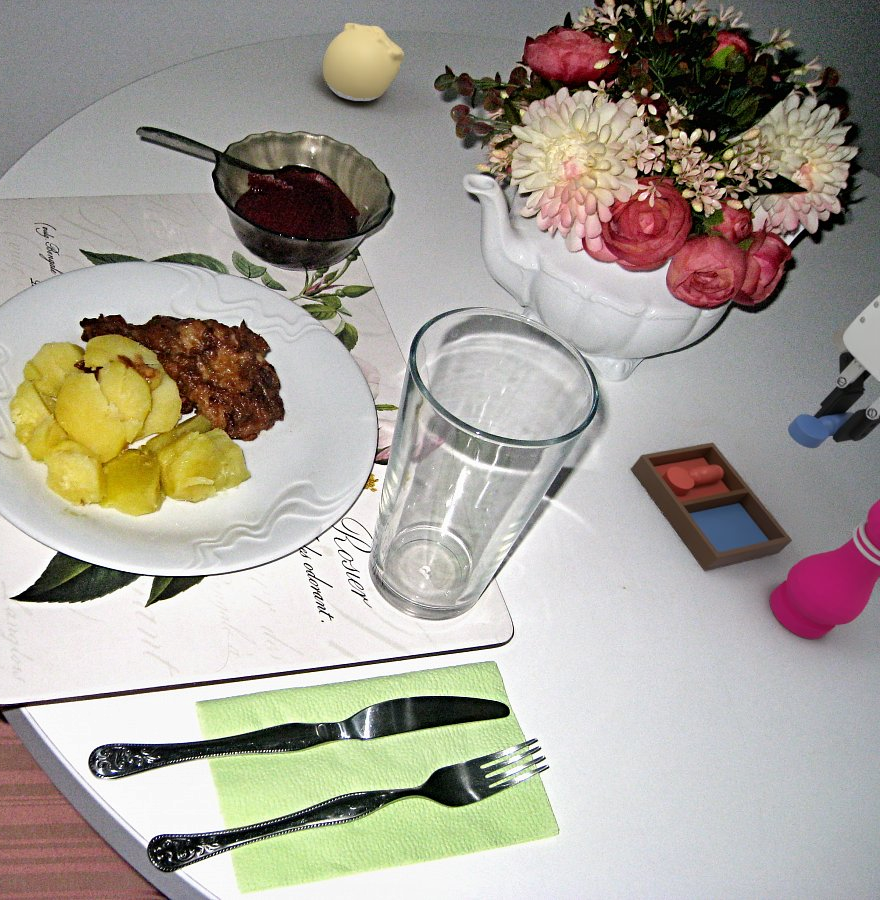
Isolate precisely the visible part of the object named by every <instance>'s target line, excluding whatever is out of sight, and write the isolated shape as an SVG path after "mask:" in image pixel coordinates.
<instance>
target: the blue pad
mask: <svg viewBox="0 0 880 900" xmlns="http://www.w3.org/2000/svg"><path fill="white" fill-rule="evenodd" d="M689 514H690V515H691V517H692V518H693V519H694V521H695V522H696V523H697V525H698V526H699V527H700V529H701V530H702V531H703V533H704V534H705V535H706V537H707V538H708V539H709V541H710V542H711V543H712V545H713V546H714V547H715V549H716V550H717V551H718V553H719V552H723V551H727V550H732V549H736V548H740V547H744V546H749V545H753V544H757V543H761V542H766V541H769V540H768V539H767V537H766V536H765V535H764V534H763V532H762V531H761V530H760V528H759V527H758V526H757V525H756V523H755V522H754V521H753V520H752V518H751V517H750V516H749V515H748V513H747V512H746V511H745V510H744V508H743V507H742V506H741V504H740V503H736V504H731V505H727V506H722V507H717V508H713V509H708V510H703V511H698V512H694V513H689Z"/></svg>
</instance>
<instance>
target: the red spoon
mask: <svg viewBox="0 0 880 900" xmlns="http://www.w3.org/2000/svg"><path fill="white" fill-rule="evenodd" d="M723 474H724V472H723V469H722V468H721V467H720V466H718V465H707V466H702V467H697V468H692V469H689V470H687V471H686V470H684V469H682V468H679V467H671V468H669V469H668V470H667V471H666V473H665V474H664V475H663V476H662V478H663V479H664V480H665V482H666V483H667V484H668V486H669V487H670V488H671V490H672V491H673V492H674V494H675V495H676V496H685V495H686V494H687V493H688V492H689V491H690V490H691V489H692V487H693V486H697V485H702V484H707V483H712V482H717V481H719V480H721V479H722V477H723Z"/></svg>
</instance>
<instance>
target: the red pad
mask: <svg viewBox="0 0 880 900" xmlns="http://www.w3.org/2000/svg"><path fill="white" fill-rule="evenodd" d="M707 465H709V464H708V463H707V462H706V460H705V459H704V458H698V459H693V460H687V461H682V462H676V463H671V464H666V465H660V466H655V468H656V470H657V471H658V472H659V474H660V475H661V476H663V475H664V474H665V473H666V471H667V470H668V469H669V468H671V467H679V468H682V469H684V470H686V471H687V470H689V469H692V468H697V467H702V466H707ZM747 493H748V491H747V489H746V488H745V489H740V490H735V491H729V489H728V488H727V487H726V486H725V484H724V483H723V482H722V481H721V480H719V481H717V482H712V483H707V484H702V485H697V486H693V487H692V489H691V490H690V491H689V492H688V493H687V494H686V495H685V496H677V498H678V499H679V501H680V502H681V503H682V505H683V506H684V507H685V509H686V510H687V511H688V513H693V512H698V511H703V510H708V509H712V508H717V507H722V506H726V505H731V504H736V503H739V502H740V501H741V500H742V499H743V498H744V497H745V496H746V495H747Z"/></svg>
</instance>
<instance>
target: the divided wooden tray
mask: <svg viewBox="0 0 880 900" xmlns="http://www.w3.org/2000/svg"><path fill="white" fill-rule="evenodd" d="M698 458H704V459H705V460H706V462H707V463H708V464H709V465H718V466H720V467H721V468H722V469H723V472H724V474H723V477H722V479H721V481H722V482H723V483H724V484H725V486H726V487H727V488H728V489H729V491H735V490H740V489H745V488H746V489H747V491H748V493H747V495H746V496H745V497H744V498H743V499H742V500H741V501H740V502H739V503H740V504H741V506H742V507H743V508H744V510H745V511H746V512H747V513H748V515H749V516H750V517H751V518H752V520H753V521H754V522H755V523H756V525H757V526H758V527H759V528H760V530H761V531H762V532H763V534H764V535H765V536H766V537H767V539H768V540H769V541H766V542H761V543H757V544H753V545H749V546H744V547H740V548H736V549H732V550H727V551H723V552H719V553H718V551H717V550H716V549H715V547H714V546H713V545H712V543H711V542H710V541H709V539H708V538H707V537H706V535H705V534H704V533H703V531H702V530H701V529H700V527H699V526H698V525H697V523H696V522H695V521H694V519H693V518H692V517H691V515H690V514H689V513H688V511H687V510H686V509H685V507H684V506H683V505H682V503H681V502H680V501H679V499H678V498H677V496H676V495H675V494H674V492H673V491H672V490H671V488H670V487H669V486H668V484H667V483H666V482H665V480H664V479H663V478H662V476H661V475H660V474H659V472H658V471H657V470H656V468H655V466H660V465H666V464H671V463H676V462H682V461H687V460H693V459H698ZM630 470H631V471H632V473H633V474H634V475H635V477H636V478H637V480H638V481H639V483H640V484H641V485H642V486H643V488H644V489H645V490H646V492H647V493H648V495H649V496H650V498H651V499H652V500H653V502H654V503H655V505H656V506H657V507H658V509H659V510H660V511H661V512H662V515H663V516H664V517H665V518H666V520H667V521H668V522H669V524H670V525H671V527H672V528H673V529H674V531H675V532H676V533H677V535H678V536H679V537H680V539H681V540H682V542H683V543H684V545H685V546H686V547H687V549H688V550H689V551H690V553H691V554H692V556H693V557H694V559H696V561H697V563H698V564H699V566H700V567H701V568H702V570H703V571H704V572H706V571H711V570H715V569H719V568H723V567H727V566H731V565H736V564H739V563H744V562H748V561H751V560H756V559H759V558H763V557H768V556H771V555H776V554H779V553H781V552H782V551H783V550H784V549H785V548H786V547H787V546H788V545H789V544H790V543H791V542H792V541H793V539H792V537H791V536H790V535H789V534H788V533H787V531H786V530H785V529H784V528H783V527H782V525H781V524H780V523H779V521H778V520H777V519H776V518H775V517H774V515H773V514H772V513H771V512H770V511H769V510H768V508H767V507H766V506H765V504H764V503H763V502H762V501H761V500H760V498H759V497H758V496H757V495H756V494H755V492H754V491H753V490H752V489H751V487H750V486H749V484H748V483H747V482H746V481H745V480H744V479H743V477H742V476H741V475H740V474H739V472H738V471H737V470H736V469H735V467H734V466H733V465H732V464H731V463H730V461H729V460H728V459H727V457H726V456H725V455H724V454H723V453H722V452H721V450H720V449H719V448H718V446H717V445H716V444H715V443H714V442H707V443H702V444H697V445H691V446H685V447H680V448H674V449H668V450H662V451H656V452H651V453H646V454H640V456H639V457H638V458H637V460H636V461H635V462H634V464H633V465H632V467H631V468H630ZM726 506H727V505H726ZM712 509H713V508H712ZM693 513H694V512H693Z"/></svg>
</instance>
